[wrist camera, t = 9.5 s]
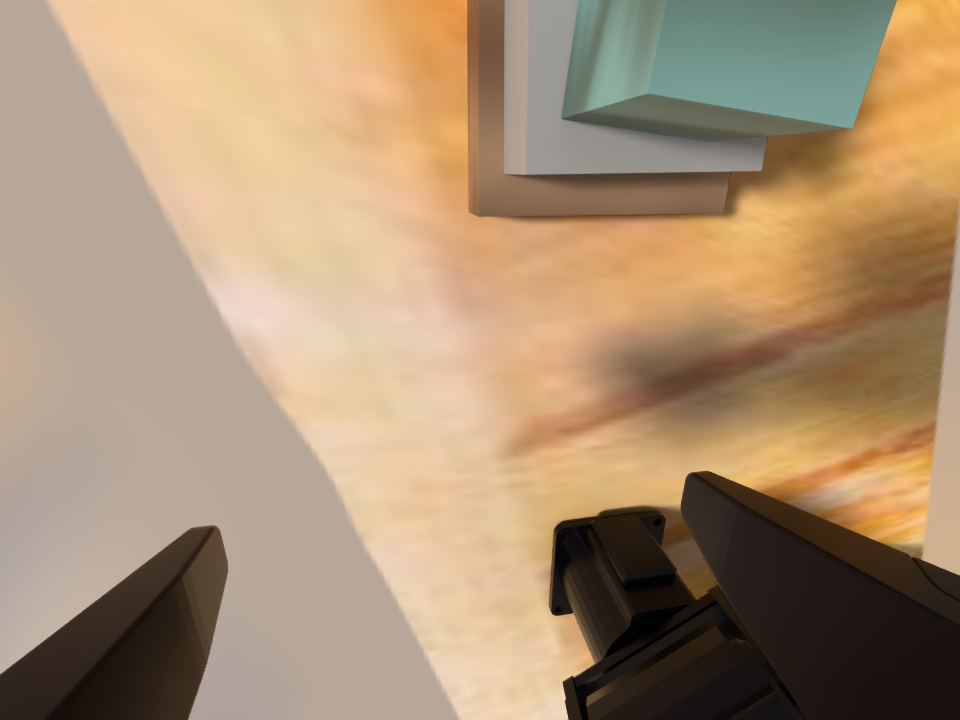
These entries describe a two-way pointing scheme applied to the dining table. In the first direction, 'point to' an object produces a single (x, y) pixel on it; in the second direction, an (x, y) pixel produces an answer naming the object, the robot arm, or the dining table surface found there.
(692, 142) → the grey slab
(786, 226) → the dining table surface
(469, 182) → the walnut slab
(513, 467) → the dining table surface
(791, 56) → the teal block
